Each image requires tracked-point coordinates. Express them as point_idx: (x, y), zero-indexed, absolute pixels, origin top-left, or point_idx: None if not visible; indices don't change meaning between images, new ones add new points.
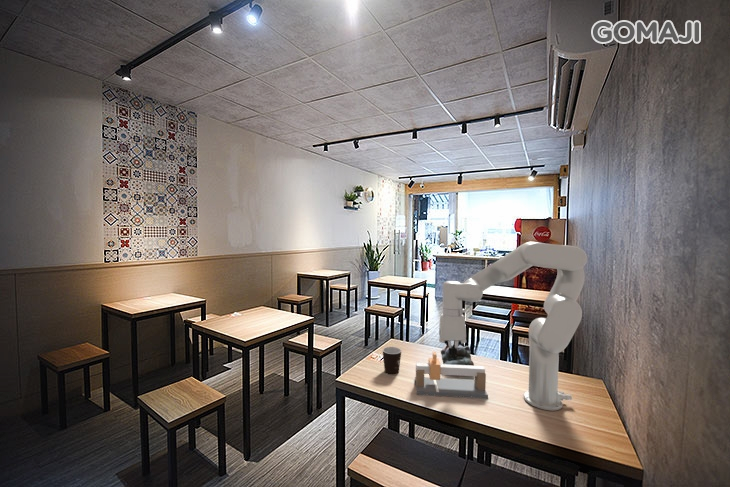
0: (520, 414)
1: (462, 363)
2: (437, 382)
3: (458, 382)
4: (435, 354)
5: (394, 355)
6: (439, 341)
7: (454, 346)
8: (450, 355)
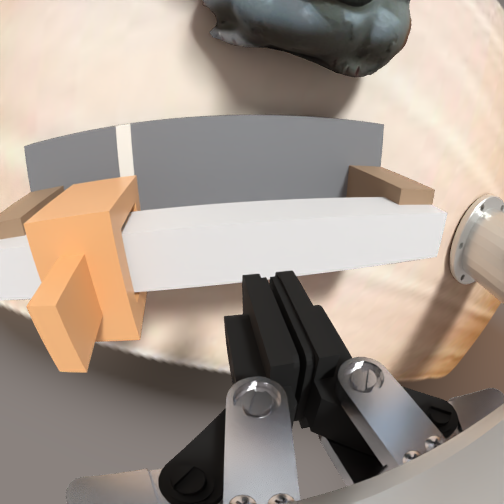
0: (400, 314)
1: (347, 36)
2: (141, 183)
3: (268, 159)
4: (75, 367)
5: None
6: (88, 497)
7: (320, 428)
8: (243, 300)
